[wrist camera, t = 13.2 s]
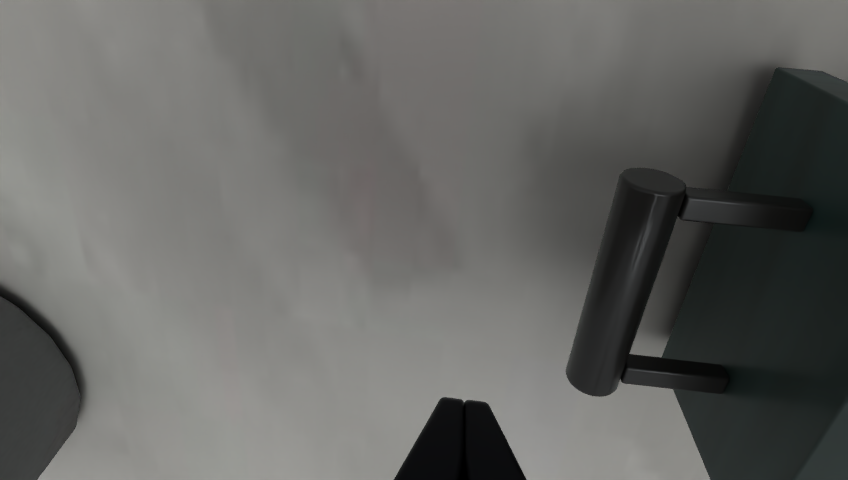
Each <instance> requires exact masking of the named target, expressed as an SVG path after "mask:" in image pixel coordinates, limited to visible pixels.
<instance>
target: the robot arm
mask: <svg viewBox="0 0 848 480" xmlns="http://www.w3.org/2000/svg"><path fill="white" fill-rule="evenodd" d="M394 480H526V478H525V476H524V474H523V472H522V470H521V468H520V466H519V464H518V462H517V460H516V458H515V456H514V454H513V452H512V450H511V448H510V446H509V444H508V442H507V440H506V438H505V436H504V434H503V432H502V430H501V428H500V426H499V424H498V422H497V420H496V418H495V416H494V414H493V412H492V410H491V408H490V406H489V405H488V404H487V403H486V402H481V401H473V400H467V401H465V402H463V400H461V399H455V398H447V397H443V398H441V399H440V400H439V402H438V404H437V406H436V407H435V409H434V411H433V413H432V414H431V416H430V418H429V419H428V421H427V423H426V425H425V426H424V428H423V430H422V432H421V433H420V435H419V437H418V439H417V440H416V442H415V444H414V446H413V447H412V449H411V451H410V453H409V454H408V456H407V458H406V459H405V461H404V463H403V465H402V466H401V468H400V470H399V472H398V473H397V475H396V477H395V479H394Z"/></svg>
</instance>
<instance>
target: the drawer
mask: <svg viewBox="0 0 848 480" xmlns="http://www.w3.org/2000/svg"><path fill="white" fill-rule="evenodd" d="M677 216H678V218H679V219H680V220H686V221H696V222H705V223H714V226H713V228H712V231H711V233H710V236H709V238H708V241H707V243H706V246H705V248H704V251H703V253H702V256H701V259H700V261H699V264H698V266H697V269H696V271H695V274H694V276H693V279H692V281H691V284H690V286H689V289H688V292H687V294H686V297H685V299H684V302H683V304H682V307H681V309H680V312H679V314H678V317H677V319H676V322H675V324H674V327H673V330H672V332H671V335H670V337H669V340H668V342H667V345H666V347H665V350H664V352H663V355H662V357H661V358H660V357H651V356H642V355H633V354H629V353H630V350H631V347H632V344H633V341H634V338H635V336H636V333H637V330H638V327H639V324H640V321H641V318H642V316H643V313H644V310H645V307H646V304H647V301H648V299H649V296H650V293H651V290H652V287H653V284H654V282H655V279H656V276H657V273H658V270H659V267H660V264H661V262H662V259H663V256H664V253H665V250H666V247H667V245H668V242H669V239H670V236H671V233H672V230H673V228H674V225H675V222H676V219H677ZM566 375H567V378H568V380H569V382H570V383H571V384H572V385H573V386H574V387H575V388H576V389H578V390H579V391H581V392H583V393H585V394H588V395H591V396H599V397H600V396H607V395H610V394H611V393H613V392H614V391H615V390H616V389H617V387H618V384H619V381H620V379H621V382H622V383H626V384H634V385H643V386H652V387H661V388H670V389H673V390H674V393H675V395H676V397H677V400H678V402H679V405H680V407H681V410H682V412H683V414H684V417H685V419H686V422H687V424H688V426H689V429H690V431H691V434H692V436H693V438H694V441H695V443H696V446H697V448H698V451H699V453H700V455H701V458H702V460H703V463H704V465H705V467H706V470H707V472H708V475H709V477H710V480H848V82H845V81H843V80H841V79H839V78H836V77H834V76H832V75H830V74H827V73H825V72H823V71H814V70H803V69H792V68H781V67H778V68H776V69H775V71H774V74H773V76H772V79H771V81H770V84H769V86H768V89H767V91H766V94H765V96H764V99H763V101H762V104H761V107H760V109H759V112H758V114H757V117H756V119H755V122H754V124H753V127H752V129H751V132H750V134H749V137H748V139H747V142H746V145H745V147H744V150H743V152H742V155H741V157H740V160H739V162H738V165H737V167H736V170H735V172H734V175H733V177H732V180H731V183H730V185H729V188H728V190H727V191H722V190H712V189H702V188H692V187H686V185H685V183H684V182H683V181H682V180H680V179H679V178H677V177H675V176H673V175H671V174H668V173H666V172H663V171H659V170H655V169H649V168H630V169H626V170H624V171H623V172H622V173H621V174H620V177H619V180H618V184H617V188H616V191H615V195H614V198H613V202H612V206H611V209H610V213H609V216H608V220H607V224H606V227H605V231H604V234H603V238H602V242H601V245H600V249H599V252H598V256H597V260H596V263H595V267H594V270H593V274H592V277H591V281H590V285H589V288H588V292H587V295H586V299H585V303H584V306H583V310H582V313H581V317H580V321H579V324H578V328H577V331H576V335H575V339H574V342H573V346H572V349H571V353H570V357H569V360H568V364H567V367H566Z"/></svg>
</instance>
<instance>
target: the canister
mask: <svg viewBox="0 0 848 480" xmlns="http://www.w3.org/2000/svg"><path fill="white" fill-rule="evenodd" d="M80 400H81V397H80V394H79V391H78V387H77V384H76V381H75V377H74V374H73V371H72V368H71V366H70V364H69V363H68V361H67V360H66V359H65V357H64V356H63V354H62V353H61V351H60V350H59V348H58V347H57V346H56V344H55V343H54V341H53V340H52V338H51V337H50V336H49V335H48V334H47V333H46V332H45V331H44V330H43V329H42V328H40V327H39V326H38V325H37V324H36V323H35V322H34V321H33V320H32V319H31V318H29V317H28V316H27V315H26V314H25V313H24V312H23V311H22V310H21V309H20V308H18V307H17V306H16V305H14V304H12V303H11V302H9V301H7V300H6V299H4V298H2V297H1V296H0V480H37V479H38V478H39V476H40V475H41V474H42V472H43V471H44V470H45V468H46V467H47V466H48V464H49V463H50V462H51V460H52V459H53V458H54V456H55V455H56V454H57V452H58V451H59V449H60V448H61V447H62V445H63V444H64V443H65V441H66V440H67V439H68V437H69V436H70V435H71V433H72V432H73V430H74V429H75V427H76V424H77V418H78V412H79V406H80Z"/></svg>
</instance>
